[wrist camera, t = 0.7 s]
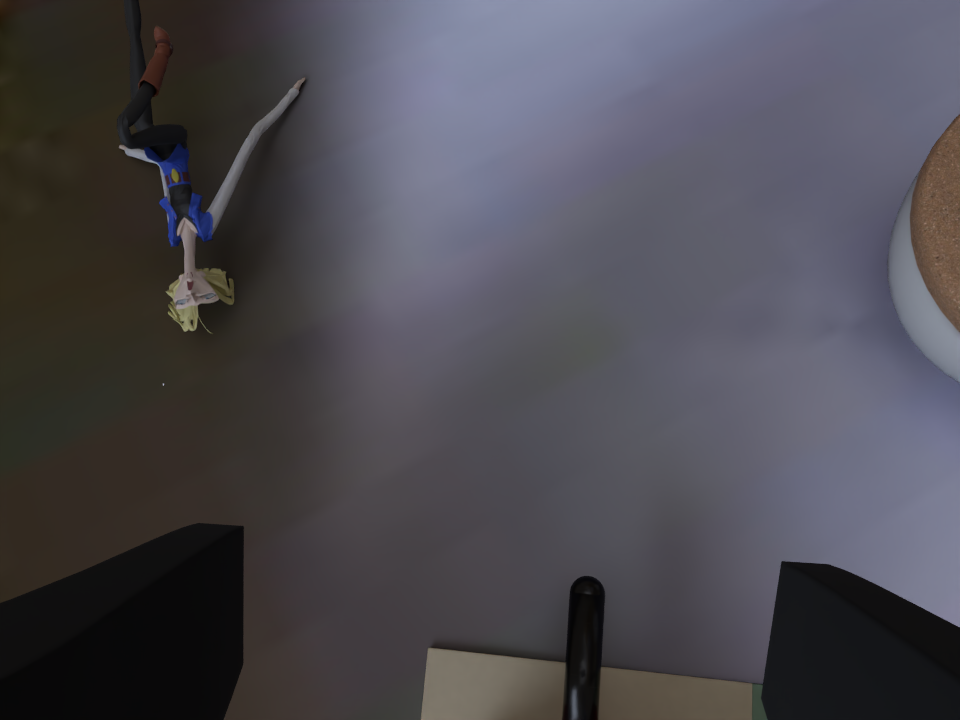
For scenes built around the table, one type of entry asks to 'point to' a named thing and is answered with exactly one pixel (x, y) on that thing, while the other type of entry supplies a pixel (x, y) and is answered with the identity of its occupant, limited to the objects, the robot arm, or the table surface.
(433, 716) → the desk pad
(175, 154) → the figurine
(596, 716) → the pan
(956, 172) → the trinket box
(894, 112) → the table surface
